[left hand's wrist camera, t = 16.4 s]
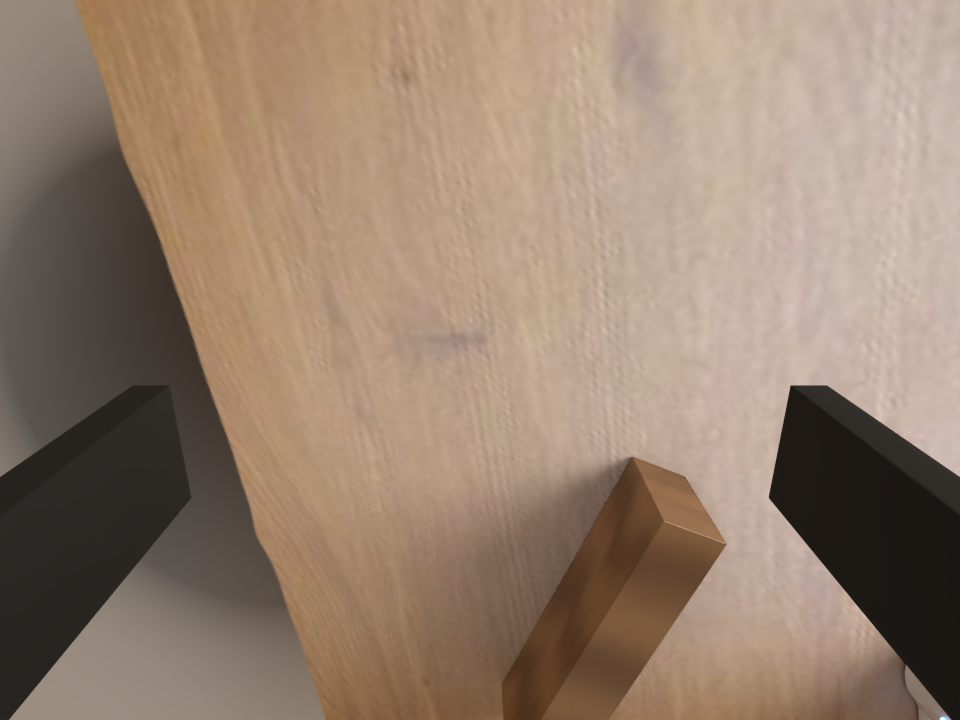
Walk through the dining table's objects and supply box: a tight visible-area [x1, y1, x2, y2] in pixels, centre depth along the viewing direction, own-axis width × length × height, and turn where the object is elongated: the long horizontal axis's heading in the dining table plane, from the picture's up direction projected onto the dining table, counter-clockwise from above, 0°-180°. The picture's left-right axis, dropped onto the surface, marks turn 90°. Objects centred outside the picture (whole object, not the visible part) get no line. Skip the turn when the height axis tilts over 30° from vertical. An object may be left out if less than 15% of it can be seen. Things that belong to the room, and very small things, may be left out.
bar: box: [502, 457, 727, 720], centre depth 50 cm, size 28×5×9 cm, turn 157°
